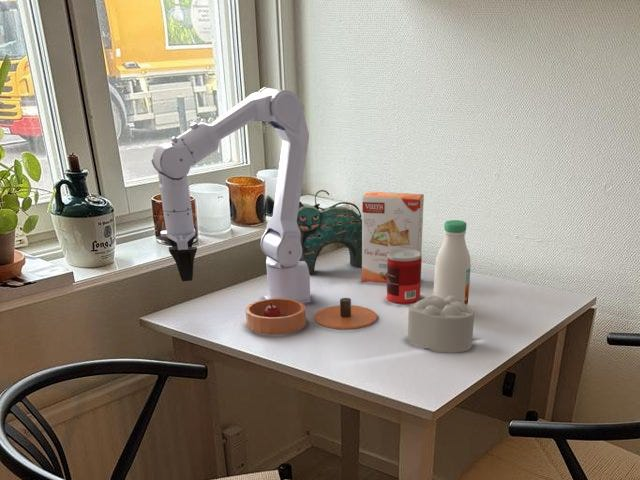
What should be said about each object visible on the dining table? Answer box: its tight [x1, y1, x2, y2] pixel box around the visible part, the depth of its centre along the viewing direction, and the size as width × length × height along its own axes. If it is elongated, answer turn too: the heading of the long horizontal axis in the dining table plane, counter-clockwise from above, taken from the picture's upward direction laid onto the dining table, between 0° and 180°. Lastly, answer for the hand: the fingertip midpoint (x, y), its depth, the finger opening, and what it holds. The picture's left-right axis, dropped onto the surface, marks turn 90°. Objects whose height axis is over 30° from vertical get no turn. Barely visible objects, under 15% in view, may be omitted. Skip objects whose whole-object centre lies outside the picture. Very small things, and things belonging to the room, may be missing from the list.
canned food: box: [386, 249, 423, 305], centre depth 168 cm, size 8×8×11 cm
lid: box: [314, 297, 378, 330], centre depth 160 cm, size 14×14×5 cm
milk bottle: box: [433, 219, 472, 306], centre depth 158 cm, size 8×8×20 cm
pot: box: [245, 298, 307, 335], centre depth 157 cm, size 13×13×4 cm
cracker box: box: [361, 190, 425, 284], centre depth 178 cm, size 14×6×21 cm, turn 77°
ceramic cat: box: [297, 189, 362, 275], centre depth 187 cm, size 20×6×20 cm, turn 115°
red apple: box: [263, 302, 282, 317], centre depth 157 cm, size 4×4×4 cm
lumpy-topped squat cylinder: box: [407, 294, 475, 354], centre depth 148 cm, size 10×13×9 cm
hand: (186, 275), depth 156 cm, fingers open, 7 cm apart
